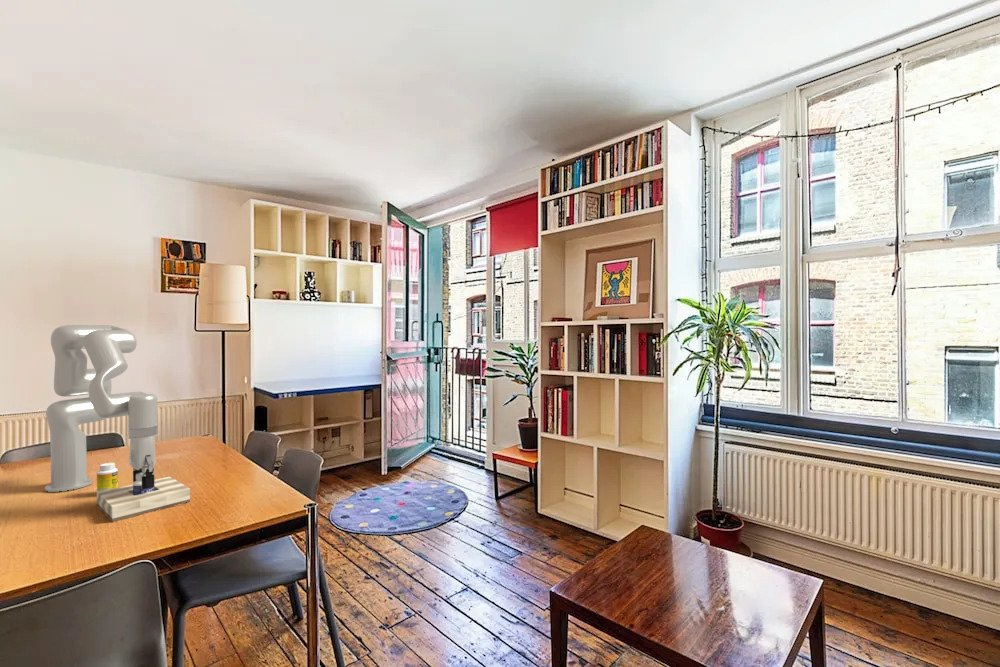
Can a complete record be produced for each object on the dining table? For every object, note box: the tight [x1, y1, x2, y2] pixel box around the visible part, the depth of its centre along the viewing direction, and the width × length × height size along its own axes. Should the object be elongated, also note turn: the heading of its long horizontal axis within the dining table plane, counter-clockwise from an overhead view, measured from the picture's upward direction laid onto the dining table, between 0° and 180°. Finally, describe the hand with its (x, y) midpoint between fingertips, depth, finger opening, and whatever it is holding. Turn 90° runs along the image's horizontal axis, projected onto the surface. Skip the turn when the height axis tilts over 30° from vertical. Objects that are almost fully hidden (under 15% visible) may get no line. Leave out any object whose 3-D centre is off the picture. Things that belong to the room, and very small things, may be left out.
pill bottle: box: [132, 473, 153, 495], centre depth 150 cm, size 5×5×9 cm
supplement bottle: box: [96, 462, 119, 493], centre depth 160 cm, size 6×6×10 cm
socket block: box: [96, 476, 191, 523], centre depth 150 cm, size 20×20×4 cm
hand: (143, 484), depth 150 cm, fingers open, 9 cm apart
